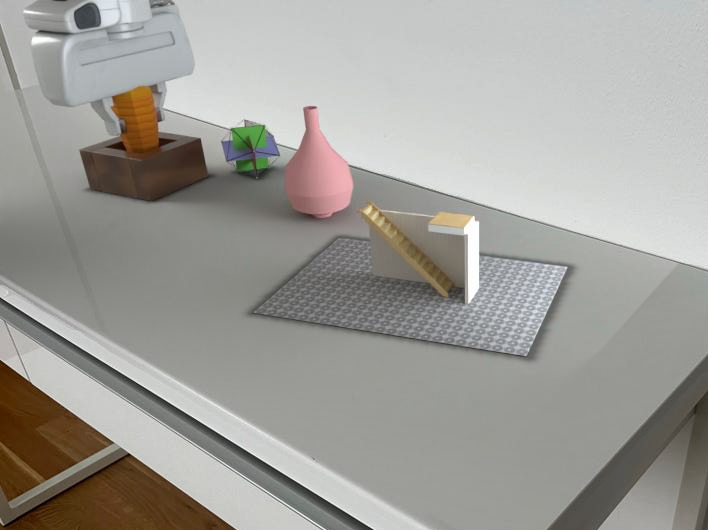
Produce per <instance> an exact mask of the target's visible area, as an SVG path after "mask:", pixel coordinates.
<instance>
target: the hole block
mask: <svg viewBox="0 0 708 530" xmlns="http://www.w3.org/2000/svg"><path fill="white" fill-rule="evenodd" d="M158 132H159V147H158V148H156V149H153V150H150V151H147V152H145V153H142V154H141V153H135V152H129V151H127V150H126V148H125V146H124V143H123V141H122V139H121V137H120V135H119V136H115V137H113V138H110V139H106V140H104V141H101V142H98V143H94V144H92V145H89V146H86V147H82V148H79V149H78V151H79V155H80V159H81V161H82V165H83V169H84V172H85V177H86V179H87V183H88V186H89V189H90V190H91V191H96V192H103V193H108V194H113V195H117V196H122V197H128V198H131V199H132V198H133V199H140V200H145V201H149V202H152V201H155V200H157V199H159V198H162V197H164V196H167V195H169V194H171V193H173V192H176V191H178V190H180V189H182V188H185V187H187V186H189V185H192V184H194V183H197V182H198V181H201V180H203V179H205V178H207V177H209V172H208V167H207V163H206V158H205V152H204V146H203V143H202V138H201V137H196V136H189V135H185V134H177V133H171V132H165V131H158Z"/></svg>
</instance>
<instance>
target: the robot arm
mask: <svg viewBox="0 0 708 530" xmlns="http://www.w3.org/2000/svg"><path fill="white" fill-rule="evenodd" d="M22 13H23V14H22V15H23V19H24V22H25V25H26V26H27V27H28V28H29V29H31V30H36V32H35V33H33V35H32V37H31V40H30V52H31V58H32V62H33V67H34V70H35V74H36V78H37V82H38V85H39V88H40V91H41V93H42V95H43V97H44V98H45V99H46V100H47V101H48V102H49V103H51V105H54V106H59V107H64V108H75V107H79V106H83V105H86V104H90V106H91V109H93V111H94V112H95V113H96V114H97V115H98V117H100V118H101V119H102V120H103V122H104V126H105V129H106V133H107V134H108V135H109V136H112V137H119V136H120V135H122V134H124V133H127V128H126V127H125V126H126V123H125V119H124V118H118V117H117V116H116V115H115V113H114V112H113V111H112V109H111V107H112V106H114V104H113V99H112V96H115V95H119V94H123V93H126V92H129V91H130V90H132V89H134V88H136V87H139V86H146V87H150V89H151V91H152V94H153V99H154V105H155V110H156V116H157V122H158V123H161V122H164V121H166V116H165V112H164V104H165V102H166V101H165V100H166V97H167V92H168V89H167V85H166V82H169V81H173V80H177V79H181V78H184V77H187V76H191V75H192V74H193V73H194V69H195V66H196V62H195V57H194V53H193V49H192V45H191V42H190V38H189V36H188V35H189V34H188V32H187V29H186V26H185V24H184V22H183V20H182V18H181V13H180V8H179V7H178V5H177V4H176V3H175V2H174V1H173V0H35V1H33V2H32V3H31V4H28V6H26V7H25V8H24V9H23V11H22Z"/></svg>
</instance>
